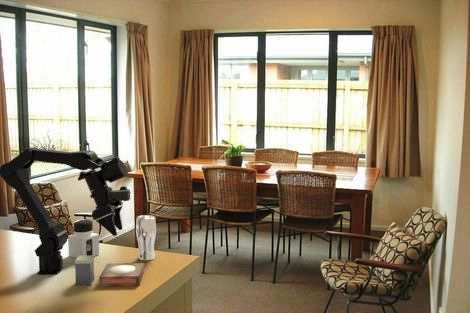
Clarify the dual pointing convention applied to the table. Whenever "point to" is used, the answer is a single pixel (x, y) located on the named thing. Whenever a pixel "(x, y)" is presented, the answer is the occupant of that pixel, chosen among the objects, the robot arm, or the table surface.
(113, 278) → the walnut step
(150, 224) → the beer glass
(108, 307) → the table surface
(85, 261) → the metal column
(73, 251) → the container
